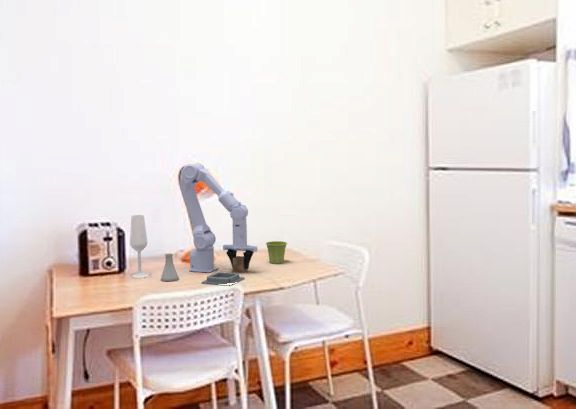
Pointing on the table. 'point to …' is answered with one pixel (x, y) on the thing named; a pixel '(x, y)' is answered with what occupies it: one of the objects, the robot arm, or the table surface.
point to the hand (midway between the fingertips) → (240, 268)
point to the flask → (169, 269)
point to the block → (239, 265)
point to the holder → (223, 278)
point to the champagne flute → (138, 240)
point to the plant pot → (276, 251)
